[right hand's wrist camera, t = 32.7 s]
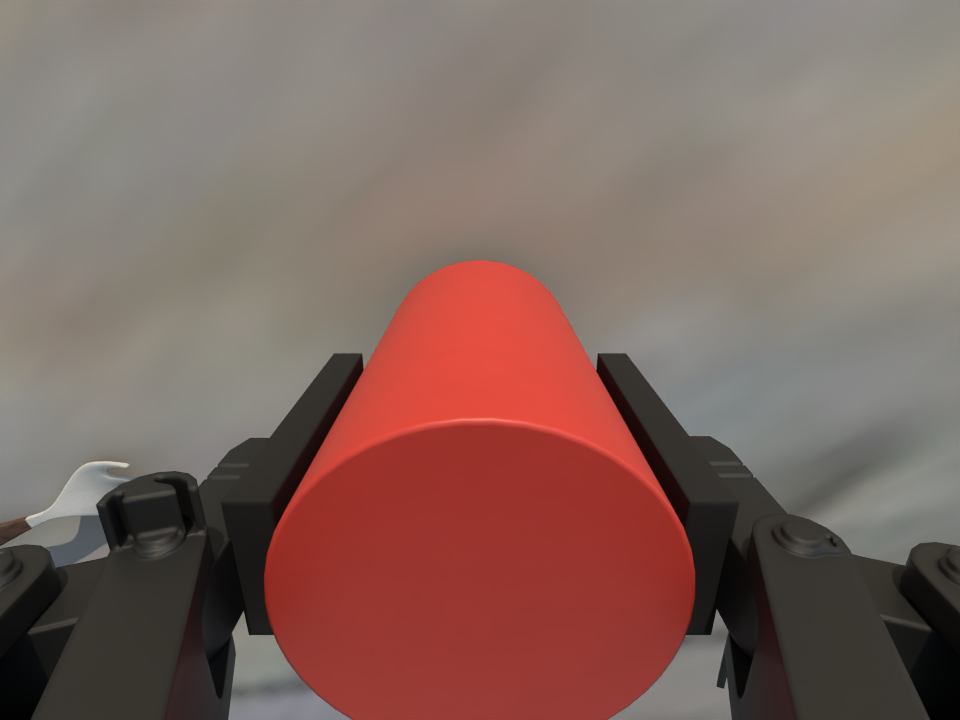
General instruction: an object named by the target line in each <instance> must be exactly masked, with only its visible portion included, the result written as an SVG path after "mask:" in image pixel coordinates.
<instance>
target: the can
mask: <svg viewBox="0 0 960 720" xmlns="http://www.w3.org/2000/svg"><path fill="white" fill-rule="evenodd" d="M264 588H265V604H266V609H267V613H268V618H269V623H270V625H271V628H272V631H273V633H274V636H275V639H276V641H277V643H278V645H279V647H280V649H281V650H282V652H283V654H284V656H285V657H286V659H287V661H288V663H289V664H290V665H291V666H292V668H293V669H294V670H295V672H296V673H297V674H298V675H299V677H300V678H301V679H302V680H303V681H304V682H305V683H306V684H307V685H308V686H309V687H310V688H311V689H312V690H313V691H314V692H315V693H316V694H317V695H318V696H319V697H320V698H322V699H323V700H324V701H326V702H327V703H328V704H329V705H331V706H332V707H333V708H334V709H336V710H338V711H339V712H341V713H342V714H344V715H346V716H347V717H349V718H350V719H352V720H608V719H609V718H611V717H612V716H614V715H616V714H617V713H619V712H620V711H622V710H623V709H625V708H626V707H628V706H629V705H630V704H632V703H633V702H634V701H635V700H636V699H638V698H639V697H640V696H641V695H643V694H644V693H645V692H646V691H647V690H648V689H649V688H650V687H651V686H652V685H653V684H654V683H655V682H656V681H657V680H658V679H659V677H660V676H661V675H662V674H663V672H664V671H665V670H666V668H667V667H668V666H669V664H670V663H671V662H672V660H673V659H674V657H675V655H676V653H677V651H678V650H679V648H680V646H681V644H682V642H683V640H684V638H685V635H686V632H687V629H688V626H689V624H690V621H691V617H692V611H693V606H694V600H695V568H694V562H693V556H692V550H691V547H690V544H689V541H688V538H687V536H686V533H685V530H684V527H683V526H682V524H681V522H680V520H679V518H678V516H677V515H676V513H675V511H674V509H673V507H672V506H671V504H670V502H669V500H668V498H667V497H666V495H665V493H664V491H663V490H662V488H661V486H660V484H659V482H658V481H657V479H656V477H655V475H654V473H653V472H652V470H651V468H650V466H649V465H648V463H647V461H646V459H645V457H644V456H643V454H642V452H641V450H640V448H639V447H638V445H637V443H636V441H635V440H634V438H633V436H632V434H631V432H630V431H629V429H628V427H627V425H626V423H625V422H624V420H623V418H622V416H621V415H620V413H619V411H618V409H617V407H616V406H615V404H614V402H613V400H612V398H611V397H610V395H609V393H608V391H607V390H606V388H605V386H604V384H603V382H602V381H601V379H600V377H599V375H598V373H597V372H596V370H595V368H594V366H593V365H592V363H591V361H590V359H589V357H588V356H587V354H586V352H585V350H584V348H583V347H582V345H581V343H580V341H579V339H578V338H577V336H576V334H575V332H574V331H573V329H572V327H571V325H570V323H569V322H568V320H567V318H566V316H565V314H564V313H563V311H562V309H561V307H560V306H559V304H558V302H557V301H556V299H555V298H554V297H553V295H552V294H551V293H550V291H549V290H548V289H547V288H546V287H545V286H544V285H543V284H542V283H540V282H539V281H538V280H536V279H535V278H534V277H532V276H531V275H529V274H527V273H526V272H524V271H522V270H520V269H518V268H515V267H513V266H510V265H506V264H503V263H499V262H491V261H468V262H461V263H457V264H453V265H450V266H447V267H445V268H442V269H440V270H438V271H436V272H434V273H432V274H431V275H429V276H427V277H426V278H424V279H423V280H422V281H421V282H420V283H418V284H417V285H416V286H415V287H414V288H413V289H412V290H411V291H410V292H409V293H408V295H407V296H406V297H405V299H404V300H403V302H402V303H401V305H400V307H399V308H398V310H397V312H396V314H395V316H394V317H393V319H392V321H391V323H390V324H389V326H388V328H387V330H386V332H385V333H384V335H383V337H382V339H381V340H380V342H379V344H378V346H377V348H376V349H375V351H374V353H373V355H372V356H371V358H370V360H369V362H368V364H367V365H366V367H365V369H364V371H363V372H362V374H361V376H360V378H359V380H358V381H357V383H356V385H355V387H354V388H353V390H352V392H351V394H350V396H349V397H348V399H347V401H346V403H345V404H344V406H343V408H342V410H341V412H340V413H339V415H338V417H337V419H336V421H335V422H334V424H333V426H332V428H331V429H330V431H329V433H328V435H327V437H326V438H325V440H324V442H323V444H322V445H321V447H320V449H319V451H318V453H317V454H316V456H315V458H314V460H313V461H312V463H311V465H310V467H309V469H308V470H307V472H306V474H305V476H304V477H303V479H302V481H301V483H300V485H299V486H298V488H297V490H296V492H295V493H294V495H293V497H292V499H291V501H290V502H289V504H288V506H287V508H286V509H285V511H284V513H283V515H282V517H281V519H280V521H279V523H278V525H277V527H276V529H275V531H274V533H273V537H272V540H271V543H270V546H269V549H268V552H267V558H266V565H265V573H264Z"/></svg>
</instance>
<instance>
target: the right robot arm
mask: <svg viewBox="0 0 960 720" xmlns="http://www.w3.org/2000/svg"><path fill="white" fill-rule="evenodd" d="M363 371H364V370H363V359H362V354H333V356H332V357H331V358H330V360H329V361H328V362H327V364H326V365H325V366H324V367H323V369H322V370H321V371H320V373H319V374H318V375H317V377H316V378H315V379H314V381H313V382H312V383H311V384H310V386H309V387H308V388H307V390H306V391H305V392H304V394H303V395H302V396H301V398H300V399H299V400H298V401H297V403H296V404H295V405H294V407H293V408H292V409H291V411H290V412H289V413H288V415H287V416H286V417H285V418H284V420H283V421H282V422H281V424H280V425H279V426H278V428H277V429H276V430H275V432H274V433H273V434H272V435H271V437H270V438H250V439H248V440H246V441H245V442H243V443H241V444H240V445H238V446H236V447H235V448H233V449H232V450H230V451H229V452H228V453H227V455H226V456H225V457H224V458H223V459H222V460H221V462H220V463H219V464H218V467H215V468H214V470H213V471H212V472H211V473H210V474H209V475H208V476H207V477H208V478H207V480H204V481H203V482H202V483H201V485H200V486H199V487H198V484H197V480H196V479H195V478H194V477H193V476H191V475H190V474H188V473H183V472H177V471H171V472H158V473H153V474H149V475H145V476H141V477H138V478H135V479H133V480H130V481H128V482H126V483H123V484H121V485H119V486H118V487H116V488H114V489H113V490H111V491H110V492H108V493H107V494H105V495H104V496H103V497H102V498H101V500H100V501H99V502H98V503H97V504H96V508H97V511H98V514H99V517H100V520H101V523H102V526H103V529H104V533H105V536H106V539H107V542H108V545H109V548H110V552H109V554H108V557H104V558H101V559H96V560H91V561H86V562H82V563H77V564H72V565H67V566H63V567H58V568H55V565H54V562H53V560H52V557H51V554H50V552H49V551H48V550H46V549H45V548H43V547H42V546H38V545H20V546H13V547H7V548H2V549H0V720H228V716H229V708H230V699H231V691H232V682H233V673H234V665H235V656H236V652H235V645H234V640H233V636H232V631H233V630H234V628H235V626H236V624H237V622H238V620H239V618H240V616H241V614H242V612H243V611H244V614H245V618H246V623H247V627H248V632H249V635H274V633H273V631H272V628H271V625H270V623H269V618H268V613H267V609H266V604H265V588H264V573H265V565H266V558H267V552H268V549H269V546H270V543H271V540H272V537H273V533H274V531H275V529H276V527H277V525H278V523H279V521H280V519H281V517H282V515H283V513H284V511H285V509H286V508H287V506H288V504H289V502H290V501H291V499H292V497H293V495H294V493H295V492H296V490H297V488H298V486H299V485H300V483H301V481H302V479H303V477H304V476H305V474H306V472H307V470H308V469H309V467H310V465H311V463H312V461H313V460H314V458H315V456H316V454H317V453H318V451H319V449H320V447H321V445H322V444H323V442H324V440H325V438H326V437H327V435H328V433H329V431H330V429H331V428H332V426H333V424H334V422H335V421H336V419H337V417H338V415H339V413H340V412H341V410H342V408H343V406H344V404H345V403H346V401H347V399H348V397H349V396H350V394H351V392H352V390H353V388H354V387H355V385H356V383H357V381H358V380H359V378H360V376H361V374H362V372H363ZM596 372H597V373H598V375H599V377H600V379H601V381H602V382H603V384H604V386H605V388H606V390H607V391H608V393H609V395H610V397H611V398H612V400H613V402H614V404H615V406H616V407H617V409H618V411H619V413H620V415H621V416H622V418H623V420H624V422H625V423H626V425H627V427H628V429H629V431H630V432H631V434H632V436H633V438H634V440H635V441H636V443H637V445H638V447H639V448H640V450H641V452H642V454H643V456H644V457H645V459H646V461H647V463H648V465H649V466H650V468H651V470H652V472H653V473H654V475H655V477H656V479H657V481H658V482H659V484H660V486H661V488H662V490H663V491H664V493H665V495H666V497H667V498H668V500H669V502H670V504H671V506H672V507H673V509H674V511H675V513H676V515H677V516H678V518H679V520H680V522H681V524H682V526H683V527H684V530H685V533H686V536H687V538H688V541H689V544H690V547H691V550H692V556H693V562H694V568H695V600H694V606H693V611H692V617H691V621H690V624H689V626H688V629H687V632H686V635H711V632H712V628H713V623H714V618H715V614H716V609H717V610H718V612H719V614H720V615H721V617H722V619H723V621H724V623H725V625H726V627H727V629H728V631H729V632H728V636H727V640H726V645H725V649H724V653H723V658H722V662H721V666H720V670H719V675H718V681H717V687H720V688H724V686H725V682H726V678H727V681H728V689H729V698H730V706H731V715H732V720H960V546H956V545H950V544H943V543H937V542H932V543H920V544H918V545H917V546H915V547H914V548H912V549H911V552H910V554H909V557H908V560H907V563H906V565H905V566H904V565H899V564H894V563H890V562H885V561H880V560H875V559H870V558H865V557H861V556H857V555H853V554H852V553H851V551H850V550H849V548H848V547H847V546H846V544H845V543H844V542H843V540H842V539H841V538H840V537H838V536H837V535H836V534H834V533H833V532H832V531H830V530H829V529H827V528H826V527H824V526H822V525H820V524H817V523H815V522H813V521H811V520H809V519H805V518H802V517H798V516H794V515H791V514H787V513H786V512H785V511H784V510H783V508H782V507H781V506H780V505H779V504H778V503H777V502H776V500H775V499H774V498H773V497H772V496H771V495H770V494H769V492H768V491H767V490H766V489H765V488H764V487H763V486H762V484H761V483H760V482H759V481H758V480H757V479H756V478H753V474H752V473H751V472H750V471H749V470H748V468H747V467H746V466H743V463H742V462H741V460H740V459H739V458H738V457H737V456H736V455H735V454H734V452H733V451H732V450H731V449H730V448H728V447H727V446H725V445H723V444H722V443H720V442H718V441H717V440H715V439H714V438H712V437H710V436H689V435H688V434H687V433H686V432H685V430H684V429H683V428H682V426H681V425H680V424H679V422H678V421H677V420H676V418H675V417H674V416H673V415H672V413H671V412H670V411H669V409H668V408H667V407H666V405H665V404H664V403H663V401H662V400H661V399H660V398H659V396H658V395H657V394H656V392H655V391H654V390H653V388H652V387H651V386H650V384H649V383H648V382H647V381H646V379H645V378H644V377H643V375H642V374H641V373H640V371H639V370H638V369H637V367H636V366H635V365H634V364H633V362H632V361H631V360H630V358H629V357H628V356H627V354H598V359H597V370H596Z"/></svg>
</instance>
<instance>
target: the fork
mask: <svg viewBox="0 0 960 720" xmlns="http://www.w3.org/2000/svg"><path fill="white" fill-rule="evenodd" d="M129 466H130V464H127V463H121V462H110V461H105V462H91V463H87V464H85V465H83V466H81V467H80V468H79V469H78V470H77V471H76V472H75V473H74V474H73V475H72V477H71V478H70V480H69V481H68V483H67V484H66V486H65V487H64V489H63V491H62V492H61V494H60V495H59V497H58V498H57V500H56V501H55V503H54V504H53V505H52V506H51V507H50V508H49V509H47V510H46V511H43V512H41V513H38V514H35V515H31V516H28V517H24V518H20V519H17V520H13V521H9V522H5V523H1V524H0V546H1V545H3V544H5V543H6V542H8V541H10V540H12V539H14V538H15V537H17V536H19V535H21V534H22V533H24V532H26V531H28V530H30V529H31V528H33V527H35V526H37V525H39V524H41V523H43V522H45V521H47V520H50V519H54V518H59V517H68V516H99V514H98V511H97V508H96V504H97V503H98V502H99V501H100V500H101V498H102V497H103V496H104V495H105V494H107V493H108V492H110V491H111V490H113V489H114V488H116V487H118V486H119V485H118V484H119V483H126V482H128V481H130V480H133V479H135V478H134V477H128V476H117V475H111V474H109V473H108V472H107V470H108V469H112V468H128V467H129Z"/></svg>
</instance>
